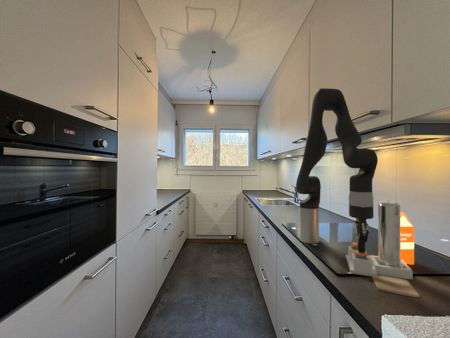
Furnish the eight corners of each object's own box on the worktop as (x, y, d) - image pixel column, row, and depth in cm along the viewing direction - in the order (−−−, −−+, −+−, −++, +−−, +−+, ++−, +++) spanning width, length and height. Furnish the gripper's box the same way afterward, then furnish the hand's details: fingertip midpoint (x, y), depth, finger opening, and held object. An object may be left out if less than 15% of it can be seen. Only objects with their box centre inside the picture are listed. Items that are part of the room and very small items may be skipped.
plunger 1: (350, 253, 91) (350, 241, 91) (362, 255, 89) (362, 242, 89) (351, 257, 87) (351, 244, 87) (364, 259, 85) (364, 246, 85)
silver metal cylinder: (379, 272, 79) (379, 202, 79) (377, 265, 85) (376, 200, 85) (402, 276, 76) (402, 203, 76) (398, 268, 82) (397, 201, 82)
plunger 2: (353, 262, 83) (353, 249, 83) (366, 264, 81) (366, 250, 81) (355, 267, 79) (355, 253, 79) (369, 269, 77) (369, 254, 77)
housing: (345, 257, 92) (345, 244, 92) (399, 264, 85) (399, 250, 85) (350, 273, 79) (350, 258, 79) (415, 283, 71) (415, 267, 71)
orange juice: (396, 255, 94) (395, 208, 94) (414, 264, 85) (414, 212, 85) (378, 255, 94) (377, 208, 94) (394, 264, 85) (394, 212, 85)
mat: (370, 275, 77) (370, 273, 77) (406, 281, 73) (406, 279, 73) (378, 290, 67) (378, 288, 67) (419, 297, 64) (419, 295, 64)
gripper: (346, 201, 87) (347, 244, 87) (351, 206, 75) (352, 257, 75) (369, 201, 84) (369, 247, 84) (377, 207, 72) (378, 260, 72)
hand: (361, 251), depth 80 cm, fingers closed
